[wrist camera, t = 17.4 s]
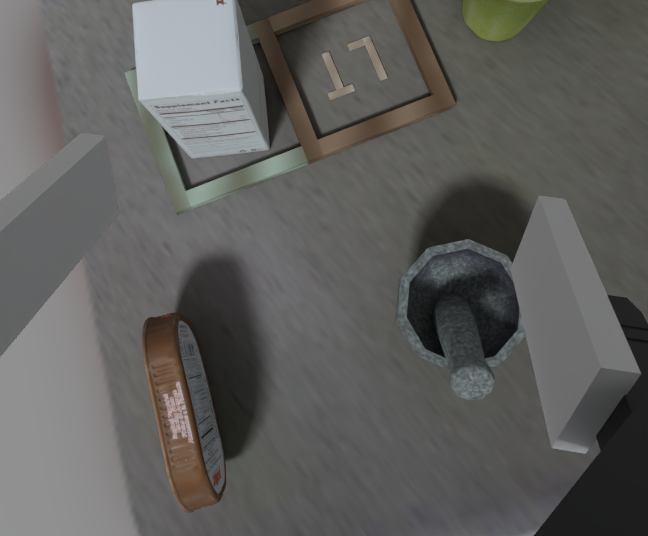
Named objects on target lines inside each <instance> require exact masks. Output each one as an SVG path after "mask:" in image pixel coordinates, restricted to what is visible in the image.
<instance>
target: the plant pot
mask: <svg viewBox="0 0 648 536" xmlns="http://www.w3.org/2000/svg"><path fill="white" fill-rule="evenodd" d="M548 1H549V0H463V4H462V14H463V19H464V21H465V23H466V25H467V26H468V27H469V28H470V29H471V30H472V31H473V32H474V33H475V34H476V35H477V36H478V37H480V38H482V39H485V40H489V41H503V40H507V39H510V38H512V37H514V36H515V35H517V34H518V33H519V32H520V31H522V30H523V29H524V28H525V26H526V25H527V24H528V23H529V22H530V21H531V20H532V19H533V17H534V16H535V15H536V14H537V13H538V12H539V11H540V10H541V9H542V8H543V6H544V5H545V4H546V3H547V2H548Z"/></svg>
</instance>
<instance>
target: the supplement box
mask: <svg viewBox="0 0 648 536" xmlns="http://www.w3.org/2000/svg"><path fill="white" fill-rule="evenodd" d="M132 8H133V27H134V43H135V59H136V74H137V88H138V100H139V101H140V102H141V103H142V104H143V105H144V107H145V108H146V109H147V110H148V111H149V112H150V113H151V114H152V115H153V116H154V118H155V119H156V120H157V121H158V122H159V123H160V124H161V125H162V127H163V128H164V129H165V130H166V131H167V132H168V133H169V134H170V135H171V136H172V137H173V139H174V140H175V141H176V142H177V143H178V144H179V145H180V146H181V147H182V148H183V149H184V151H185V152H186V153H187V154H188V155H189V156H190V157H191V158H201V157H210V156H219V155H229V154H238V153H248V152H256V151H265V150H269V149H270V145H269V130H268V118H267V108H266V98H265V88H264V77H263V75H262V72H261V69H260V66H259V63H258V60H257V57H256V54H255V51H254V48H253V45H252V42H251V39H250V36H249V33H248V30H247V27H246V24H245V21H244V18H243V15H242V12H241V9H240V6H239V3H238V0H154V1H146V2H139V3H134V4H133V5H132Z"/></svg>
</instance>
